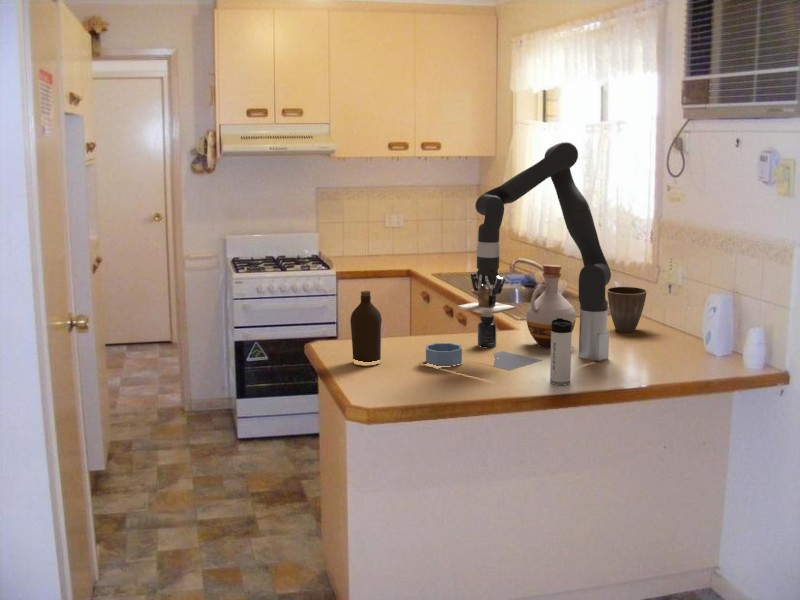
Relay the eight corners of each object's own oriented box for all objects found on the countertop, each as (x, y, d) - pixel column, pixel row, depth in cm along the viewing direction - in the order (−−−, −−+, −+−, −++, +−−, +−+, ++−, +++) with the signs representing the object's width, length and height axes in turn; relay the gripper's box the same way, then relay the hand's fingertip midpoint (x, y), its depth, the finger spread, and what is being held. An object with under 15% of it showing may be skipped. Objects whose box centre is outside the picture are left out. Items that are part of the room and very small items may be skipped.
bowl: (468, 364, 306) (468, 347, 305) (444, 371, 298) (444, 353, 297) (443, 358, 315) (443, 341, 314) (418, 364, 307) (418, 347, 305)
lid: (516, 309, 305) (516, 289, 303) (488, 314, 295) (488, 294, 294) (485, 302, 315) (485, 283, 313) (457, 307, 305) (457, 288, 304)
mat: (542, 361, 308) (543, 360, 308) (509, 372, 296) (509, 370, 296) (502, 352, 321) (502, 351, 321) (468, 362, 309) (468, 360, 309)
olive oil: (360, 368, 302) (358, 295, 297) (346, 361, 311) (344, 290, 306) (387, 364, 307) (386, 292, 302) (373, 357, 316) (372, 287, 311)
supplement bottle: (474, 346, 331) (474, 314, 329) (491, 344, 333) (491, 312, 331) (482, 350, 325) (482, 318, 322) (499, 348, 327) (499, 316, 325)
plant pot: (646, 335, 345) (648, 294, 341) (606, 334, 347) (608, 293, 344) (643, 326, 359) (645, 287, 356) (604, 325, 362) (606, 286, 358)
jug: (549, 355, 317) (551, 271, 311) (512, 346, 330) (513, 265, 324) (585, 346, 329) (587, 264, 323) (548, 337, 343) (549, 259, 337)
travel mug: (567, 379, 287) (569, 317, 283) (572, 385, 281) (573, 322, 277) (548, 379, 287) (549, 318, 283) (552, 385, 281) (553, 322, 277)
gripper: (511, 256, 299) (510, 307, 302) (480, 251, 309) (478, 300, 312) (496, 258, 294) (495, 310, 297) (464, 253, 304) (463, 303, 308)
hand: (486, 304), depth 305 cm, fingers closed on lid, 4 cm apart
